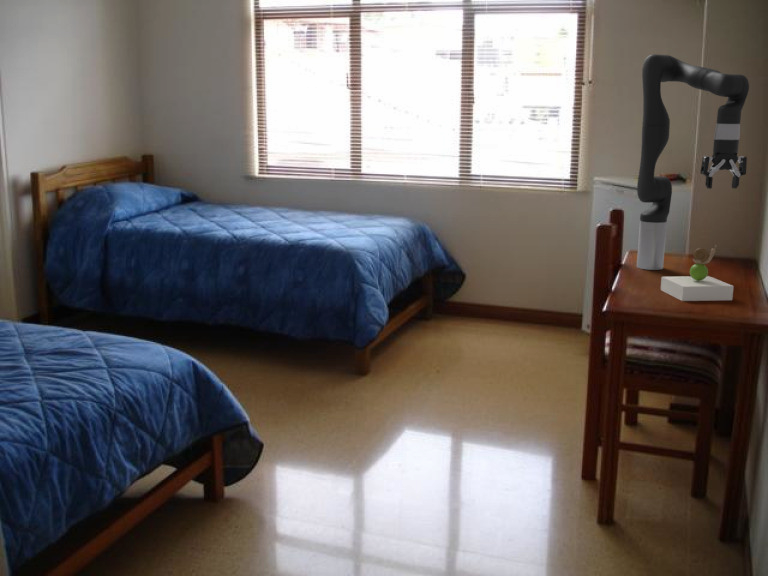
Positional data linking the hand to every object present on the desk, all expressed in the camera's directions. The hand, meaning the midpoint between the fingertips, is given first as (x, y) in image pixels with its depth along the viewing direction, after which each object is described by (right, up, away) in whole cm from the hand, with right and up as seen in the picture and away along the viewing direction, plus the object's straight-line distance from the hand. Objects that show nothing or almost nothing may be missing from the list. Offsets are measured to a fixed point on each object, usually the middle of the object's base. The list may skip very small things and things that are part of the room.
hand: (721, 188), depth 267 cm
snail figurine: (-11, -30, -9) cm, 34 cm away
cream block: (-12, -35, -9) cm, 38 cm away
